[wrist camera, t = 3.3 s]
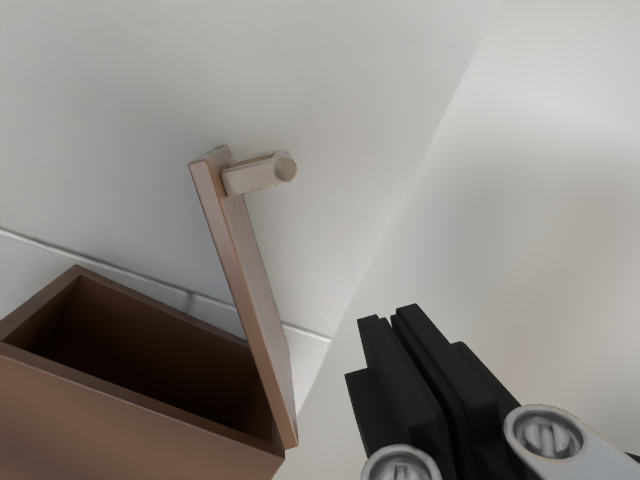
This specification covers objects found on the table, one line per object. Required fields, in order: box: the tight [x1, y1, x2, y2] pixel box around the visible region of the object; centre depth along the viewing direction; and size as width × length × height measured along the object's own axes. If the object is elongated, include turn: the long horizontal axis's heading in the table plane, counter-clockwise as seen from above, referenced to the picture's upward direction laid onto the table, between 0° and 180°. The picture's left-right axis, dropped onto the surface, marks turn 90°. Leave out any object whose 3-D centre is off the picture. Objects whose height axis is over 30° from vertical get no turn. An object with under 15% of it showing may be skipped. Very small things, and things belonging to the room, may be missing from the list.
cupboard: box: [0, 265, 285, 480], centre depth 24 cm, size 11×16×10 cm
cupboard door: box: [188, 145, 299, 450], centre depth 23 cm, size 4×16×9 cm, turn 13°
